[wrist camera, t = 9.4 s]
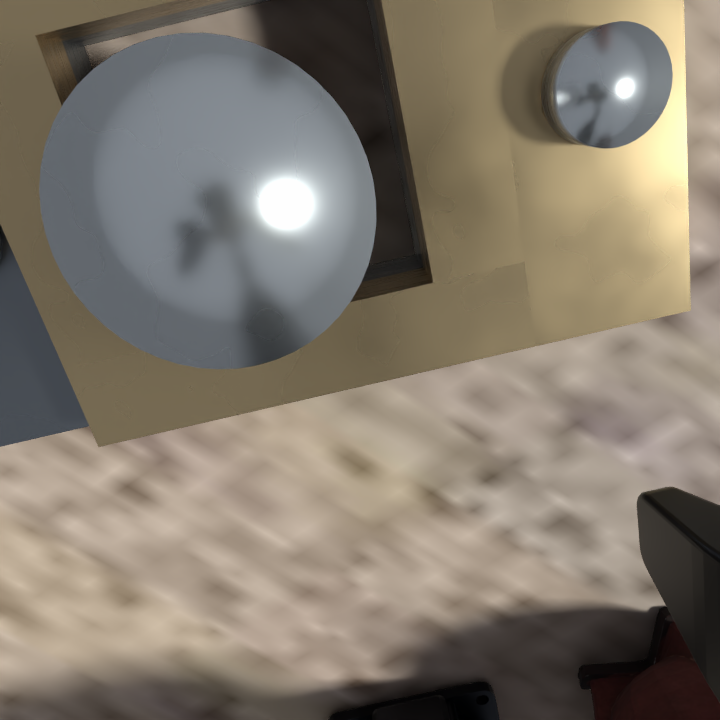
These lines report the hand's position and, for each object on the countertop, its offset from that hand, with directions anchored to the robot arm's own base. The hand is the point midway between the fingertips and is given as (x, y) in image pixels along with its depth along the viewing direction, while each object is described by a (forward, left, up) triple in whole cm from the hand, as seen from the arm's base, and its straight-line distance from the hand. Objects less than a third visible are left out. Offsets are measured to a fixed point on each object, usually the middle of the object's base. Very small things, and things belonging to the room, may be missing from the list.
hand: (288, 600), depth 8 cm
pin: (+4, 0, -12) cm, 12 cm away
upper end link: (+4, -2, -12) cm, 13 cm away
